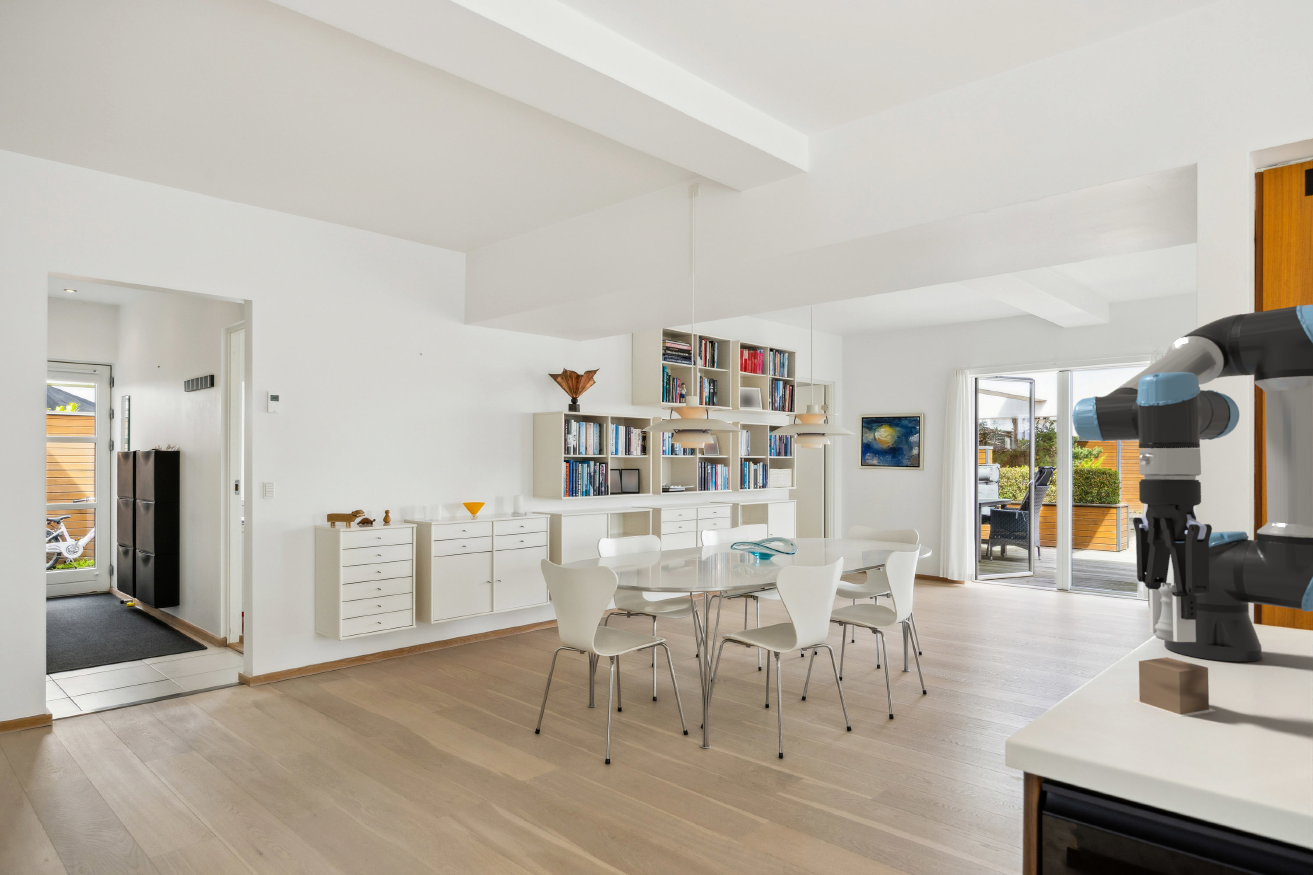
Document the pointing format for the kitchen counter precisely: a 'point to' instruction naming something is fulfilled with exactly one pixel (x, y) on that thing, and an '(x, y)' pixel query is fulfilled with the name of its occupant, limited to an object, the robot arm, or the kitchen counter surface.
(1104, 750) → the kitchen counter surface
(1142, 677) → the walnut cube
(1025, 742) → the kitchen counter surface
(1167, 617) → the rook chess piece
